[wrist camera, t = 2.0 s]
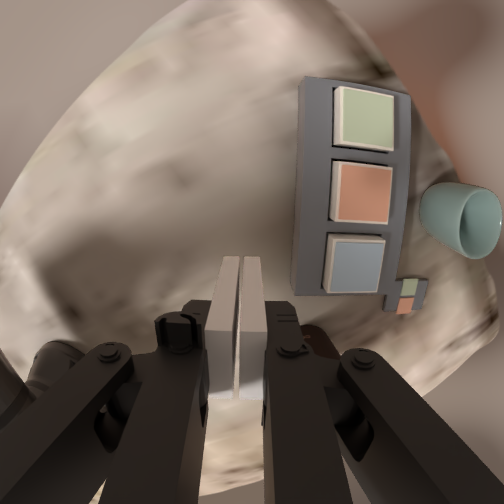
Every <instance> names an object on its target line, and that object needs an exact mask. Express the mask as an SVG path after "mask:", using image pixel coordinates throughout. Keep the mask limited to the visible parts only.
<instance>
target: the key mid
mask: <svg viewBox="0 0 504 504" xmlns="http://www.w3.org/2000/svg"><path fill="white" fill-rule="evenodd" d="M392 171H393V168H391V167H384V166H377V165H369V164H360V163H351V162H341V161H331V172H330V190H329V205H328V217H329V218H331V219H332V220H333V221H335V222H353V223H371V224H387V225H388V217H389V208H390V198H391V186H392Z"/></svg>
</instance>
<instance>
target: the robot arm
mask: <svg viewBox="0 0 504 504" xmlns="http://www.w3.org/2000/svg"><path fill="white" fill-rule="evenodd" d="M239 261H240V256H224V257H223V261H222V264H221V268H220V272H219V276H218V279H217V283H216V287H215V291H214V295H213V298H212V301H209V300H191V301H189V302H188V303H187V304H185V305H184V306H183V309H182V311H178V312H170V313H166V314H163V315H161V316H159V317H158V318H157V319H156V320H155V321H154V322H155V329H156V335H157V342H158V347H157V350H156V351H155V352H152V353H147V354H138V355H132V354H131V350H130V349H129V347H128V346H126V345H124V344H122V343H117V342H108V343H104V344H101V345H98V346H97V347H95V348H93V349H92V350H91V351H90V352H89V353H88V354H86V355H84V354H82V353H81V352H79V351H78V350H76V349H75V348H73V347H71V346H69V345H66V344H63V343H60V342H49V343H46V344H45V345H43V346H42V348H41V349H40V350H39V351H38V352H37V353H36V355H35V357H34V361H33V365H32V367H31V370H30V373H29V376H28V379H27V381H26V382H25V383H24V382H23V380H22V379H21V378H20V377H19V375H18V374H17V372H16V371H15V370H14V368H13V367H12V365H11V364H10V362H9V361H8V360H7V358H6V357H5V355H4V353H3V352H2V350H1V349H0V504H89V503H90V501H91V500H92V498H93V497H94V495H95V494H96V493H97V491H98V490H99V488H100V487H101V485H102V484H103V483H104V481H105V480H106V482H105V485H104V488H103V491H102V494H101V497H100V500H99V503H98V504H198V496H199V486H200V477H201V468H202V460H203V451H204V442H205V434H206V426H207V418H208V410H209V409H208V400H207V399H208V393H209V397H210V398H218V399H233V389H234V373H235V358H236V343H237V329H238V314H239ZM239 399H245V400H263V410H262V423H261V426H263V454H264V498H265V504H353V502H352V498H351V493H350V489H349V484H348V480H347V476H346V472H345V468H344V464H343V460H342V456H343V457H344V459H345V461H346V462H347V464H348V466H349V467H350V469H351V471H352V473H353V474H354V476H355V478H356V479H357V481H358V483H359V484H360V486H361V487H362V489H363V491H364V492H365V494H366V495H367V497H368V499H369V501H370V502H371V504H504V485H503V484H502V483H501V482H500V481H499V479H498V478H497V477H496V476H495V475H494V474H493V473H492V472H491V471H490V469H489V468H488V467H487V466H486V465H485V464H484V463H483V462H482V461H481V460H480V459H479V458H478V456H477V455H476V454H474V452H473V451H472V450H471V449H470V448H469V447H468V446H467V445H466V444H465V442H463V440H462V439H461V438H460V437H459V436H458V435H457V434H456V433H455V432H454V431H453V430H452V429H451V428H450V427H449V426H448V424H447V423H446V422H445V421H444V420H443V419H442V418H441V417H440V416H439V415H438V414H437V413H436V412H435V411H434V410H433V409H432V408H431V407H430V406H429V405H428V404H427V402H426V401H424V399H423V398H422V397H421V396H420V395H419V394H418V393H417V392H416V391H415V390H414V389H413V388H412V387H411V386H410V385H409V384H408V383H407V382H406V381H405V380H404V379H403V378H402V377H401V376H400V375H399V374H398V373H397V372H396V371H395V370H394V369H393V368H392V367H391V365H390V364H389V363H388V362H387V361H386V360H385V359H384V358H383V357H382V356H380V355H379V354H378V353H376V352H374V351H371V350H369V349H363V348H356V349H350V350H348V351H345V352H344V353H343V354H342V355H341V359H340V360H336V359H330V358H325V357H321V356H318V355H316V354H314V351H313V349H312V347H311V346H310V345H309V344H308V343H306V342H305V341H304V339H303V335H302V332H301V328H300V325H299V322H298V318H297V314H296V311H295V307H294V306H292V305H291V304H290V303H289V302H288V301H264V292H263V282H262V272H261V262H260V257H245V256H244V266H243V282H242V299H241V317H240V368H239ZM341 454H342V456H341ZM106 478H107V479H106Z"/></svg>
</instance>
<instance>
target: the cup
mask: <svg viewBox="0 0 504 504" xmlns="http://www.w3.org/2000/svg"><path fill="white" fill-rule="evenodd" d="M419 215H420V220H421V224H422V226H423V228H424V229H425V231H426V232H427V233H428V234H429V235H430V236H431V237H432V238H434V239H435V240H436V241H438V242H439V243H441V244H443V245H444V246H446V247H448V248H450V249H451V250H453V251H455V252H457V253H459V254H461V255H463V256H465V257H467V258H470V259H481V258H483V257H485V256H487V255H488V254H489V253H491V252H492V250H493V249H494V247H495V246H496V244H497V242H498V239H499V236H500V233H501V228H502V208H501V204H500V201H499V199H498V197H497V196H496V195H495V194H494V193H493V192H492V191H490V190H488V189H486V188H483V187H479V186H475V185H470V184H464V183H456V182H442V183H437V184H434V185H432V186H430V187H429V188H428V189H427V190H426V191H425V192H424V194H423V196H422V198H421V202H420V207H419Z"/></svg>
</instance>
